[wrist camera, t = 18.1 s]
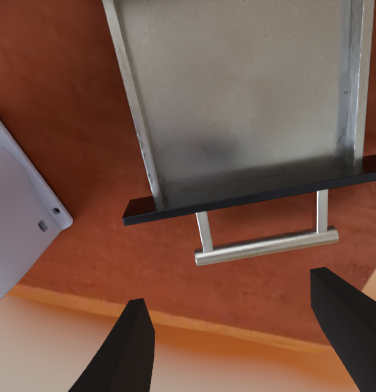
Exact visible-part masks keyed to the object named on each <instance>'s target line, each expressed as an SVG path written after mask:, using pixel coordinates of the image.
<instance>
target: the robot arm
mask: <svg viewBox="0 0 376 392" xmlns="http://www.w3.org/2000/svg"><path fill="white" fill-rule="evenodd" d="M55 208H58V209H59V210H60V212H57V211H56V210H55ZM72 223H73V219H72V217H71V215H70V214H69V213H68V211H67V210H66V209H65V207H64V206H63V205H62V203H61V202H60V201H59V199H58V198H57V197H56V195H55V194H54V192H53V191H52V190H51V188H50V187H49V186H48V184H47V183H46V182H45V180H44V179H43V178H42V176H41V175H40V174H39V172H38V171H37V170H36V168H35V167H34V165H33V164H32V163H31V161H30V160H29V159H28V157H27V156H26V155H25V153H24V152H23V151H22V149H21V148H20V147H19V145H18V144H17V143H16V141H15V140H14V139H13V137H12V136H11V134H10V133H9V132H8V130H7V129H6V128H5V126H4V125H3V124H2V122H1V121H0V299H1V298H2V297H3V296H4V295H6V294H7V293H8V292H9V291H10V290H11V289H12V288H13V287H14V286H15V285H16V284H17V283H18V282H19V281H20V280H21V279H22V277H23V276H24V275H25V274H26V273H27V271H28V270H29V269H30V268H31V267H32V265H33V264H34V263H35V262H36V261H37V259H38V258H39V257H40V256H41V255H42V253H43V252H44V251H45V250H46V249H47V247H48V246H49V245H50V244H51V243H52V241H53V240H54V239H55V238H56V237H57V235H58V234H59V233H60V232H61V231H62V230H63V229H66V228H68V227H69V226H71V224H72ZM310 281H311V307H312V309H313V311H314V314H315V316H316V318H317V320H318V322H319V324H320V326H321V328H322V330H323V332H324V334H325V335H326V337H327V338H328V340H329V342H330V343H331V345H332V347H333V348H334V350H335V352H336V353H337V355H338V356H339V358H340V359H341V361H342V363H343V364H344V366H345V368H346V369H347V371H348V372H349V374H350V376H351V377H352V379H353V380H354V382H355V384H356V385H357V387H358V389H359V390H360V392H376V301H374V300H373V299H371V298H370V297H368V296H367V295H365V294H364V293H362V292H361V291H359V290H358V289H356V288H355V287H353V286H352V285H350V284H349V283H348V282H346V281H345V280H343V279H342V278H340V277H339V276H337V275H336V274H335V273H333V272H332V271H330V270H329V269H327V268H326V267H322V268H316V269H310ZM154 346H155V330H154V328H153V325H152V322H151V319H150V316H149V313H148V310H147V307H146V304H145V301H144V298H141V299H135V300H130V301H129V302H128V304H127V305H126V307H125V309H124V310H123V312H122V314H121V315H120V317H119V319H118V320H117V322H116V324H115V325H114V327H113V329H112V330H111V332H110V333H109V335H108V336H107V338H106V340H105V341H104V343H103V344H102V346H101V347H100V349H99V350H98V352H97V353H96V355H95V356H94V357H93V359H92V360H91V362H90V363H89V365H88V366H87V368H86V369H85V370H84V372H83V373H82V374H81V376H80V377H79V378H78V380H77V381H76V382H75V383H74V385H73V386H72V387H71V389H70V390H69V391H68V392H149V391H150V384H151V377H152V369H153V362H154Z"/></svg>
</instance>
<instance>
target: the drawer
mask: <svg viewBox="0 0 376 392" xmlns="http://www.w3.org/2000/svg"><path fill="white" fill-rule="evenodd" d="M102 3H103V7H104V11H105V15H106V19H107V22H108V26H109V30H110V34H111V38H112V42H113V45H114V49H115V53H116V57H117V61H118V65H119V68H120V72H121V76H122V80H123V84H124V88H125V91H126V95H127V99H128V103H129V107H130V111H131V114H132V118H133V122H134V126H135V130H136V134H137V138H138V141H139V145H140V149H141V153H142V157H143V161H144V164H145V168H146V172H147V176H148V180H149V184H150V187H151V191H152V195H153V196H149V197H143V198H138V199H132V200H130V201H129V204H128V206H127V208H126V210H125V212H124V215H123V217H122V220H123V223H124V225H125V226H127V225H133V224H138V223H144V222H149V221H155V220H160V219H166V218H172V217H177V216H183V215H188V214H194V213H196V217H197V222H198V227H199V232H200V237H201V242H202V248H196V249H194V257H195V262H196V265H197V266H202V265H208V264H214V263H220V262H226V261H231V260H237V259H243V258H249V257H255V256H261V255H267V254H273V253H278V252H284V251H290V250H296V249H302V248H308V247H314V246H319V245H325V244H331V243H336V242H338V240H339V235H338V232H337V229H336V228H335V227H334V226H333V225H329V226H327V213H328V189H332V188H338V187H344V186H349V185H355V184H360V183H366V182H371V181H376V155H371V156H365V157H363V148H364V135H365V122H366V109H367V96H368V83H369V70H370V57H371V43H372V30H373V17H374V4H375V0H102ZM310 192H313V228H311V229H306V230H300V231H294V232H288V233H283V234H277V235H271V236H265V237H260V238H254V239H248V240H242V241H237V242H231V243H225V244H219V245H214V246H213V244H212V238H211V232H210V227H209V221H208V215H207V211H210V210H216V209H221V208H227V207H233V206H238V205H244V204H249V203H255V202H260V201H266V200H271V199H277V198H283V197H288V196H294V195H299V194H305V193H310Z"/></svg>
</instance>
